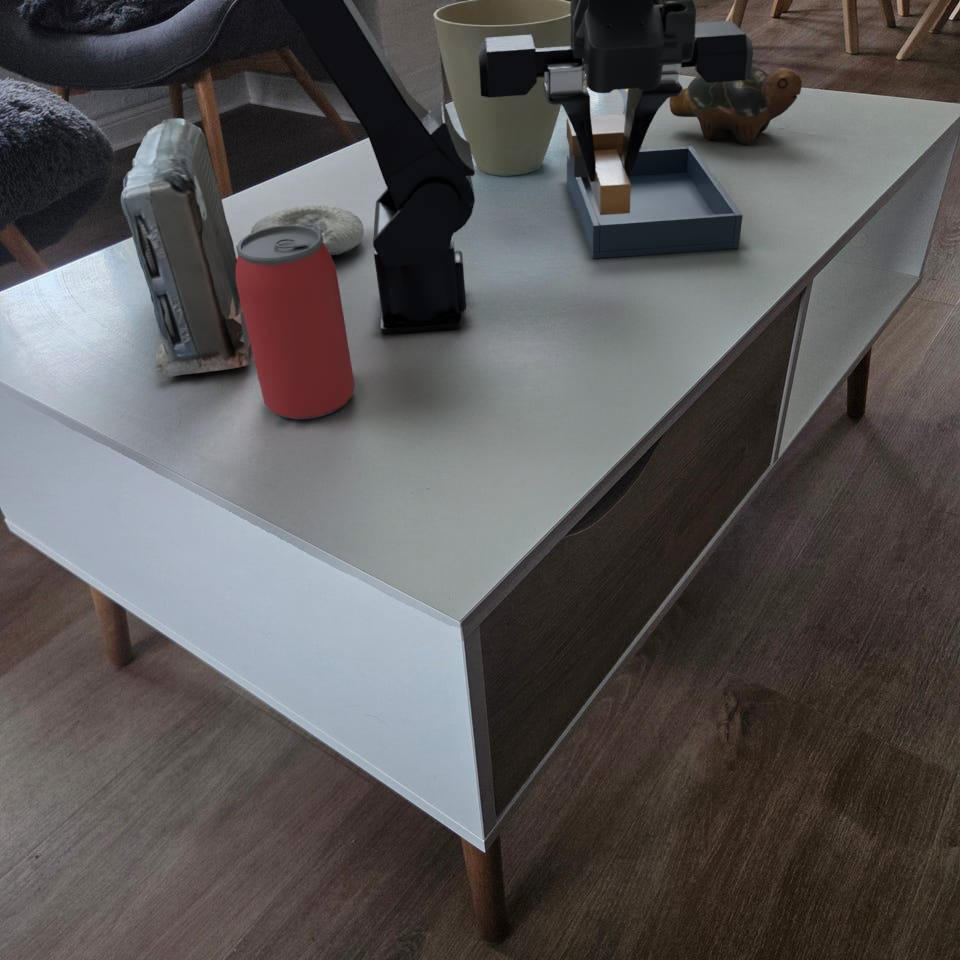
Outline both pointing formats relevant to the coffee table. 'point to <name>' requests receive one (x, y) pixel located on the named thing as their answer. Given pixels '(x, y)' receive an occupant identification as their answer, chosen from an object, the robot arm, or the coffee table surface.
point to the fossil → (320, 225)
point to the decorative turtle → (738, 102)
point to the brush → (604, 163)
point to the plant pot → (510, 119)
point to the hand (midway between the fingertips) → (608, 179)
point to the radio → (185, 252)
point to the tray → (661, 208)
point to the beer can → (294, 321)
